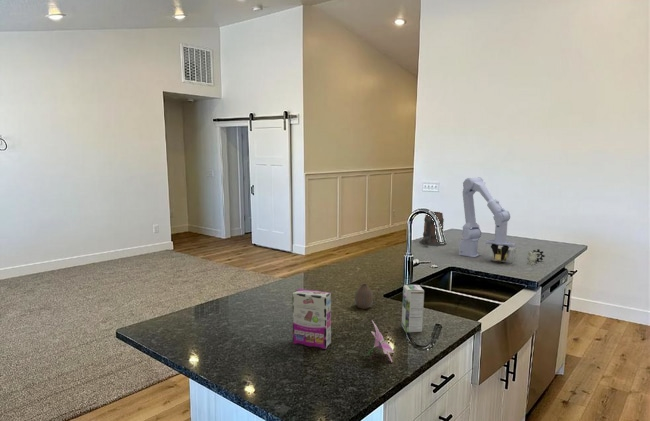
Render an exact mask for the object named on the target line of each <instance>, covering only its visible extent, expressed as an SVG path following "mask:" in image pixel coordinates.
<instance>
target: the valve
mask: <svg viewBox="0 0 650 421" xmlns="http://www.w3.org/2000/svg"><path fill="white" fill-rule="evenodd" d="M543 253H544V251H543V250H540V249H539V248H538V249H537V250H536V249H534V250H532V251H528V252H527V257H526V258H527V263H526V264H527V265H530V266H536V262H539V261H543V260H544V258H545V257H546V255H545V254H543Z"/></svg>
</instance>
